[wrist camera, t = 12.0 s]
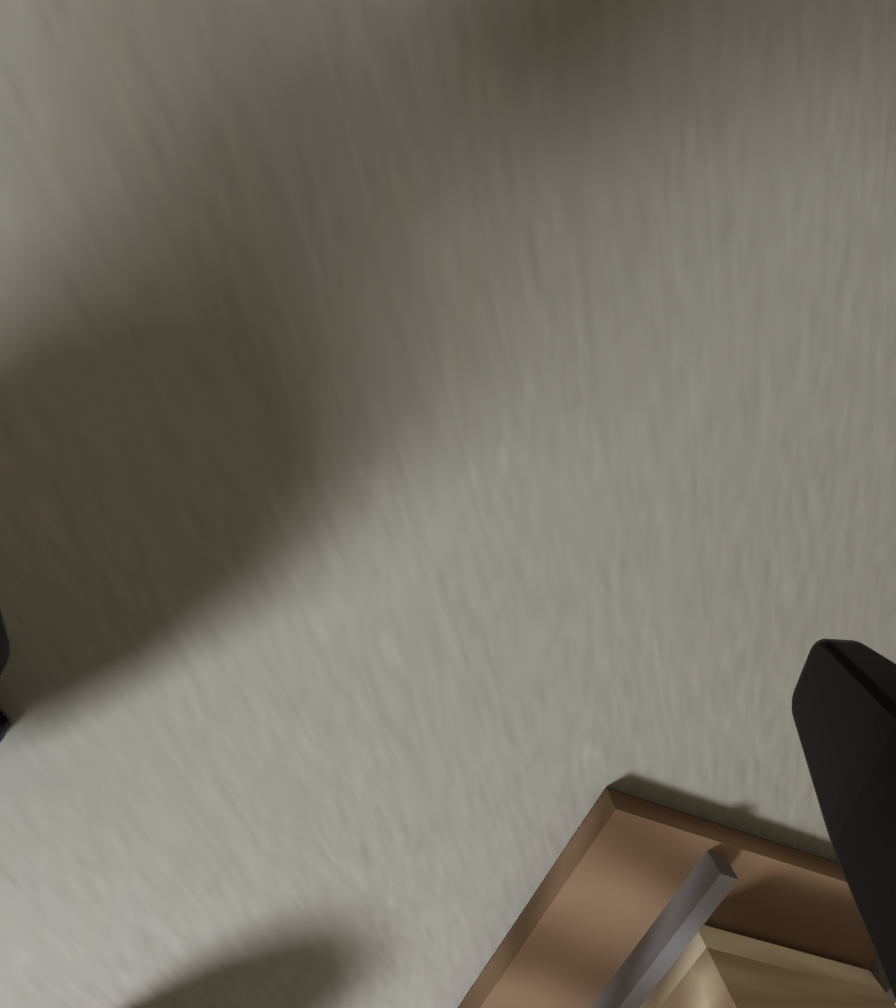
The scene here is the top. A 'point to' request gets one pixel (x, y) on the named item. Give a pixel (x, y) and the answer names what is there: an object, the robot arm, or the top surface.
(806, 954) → the light wooden tray
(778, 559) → the top surface
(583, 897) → the open wooden tray
